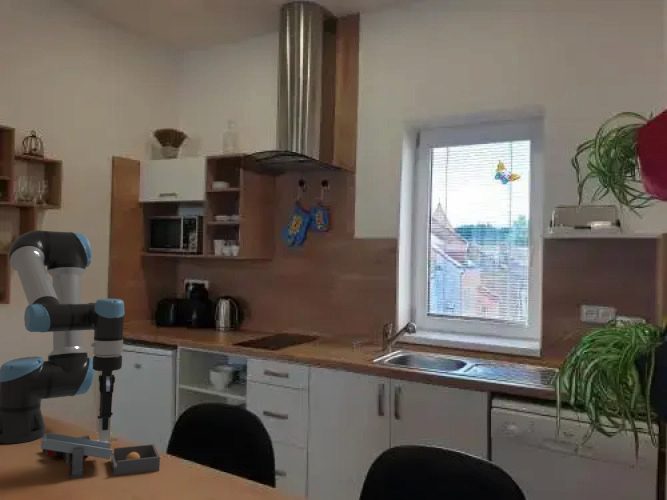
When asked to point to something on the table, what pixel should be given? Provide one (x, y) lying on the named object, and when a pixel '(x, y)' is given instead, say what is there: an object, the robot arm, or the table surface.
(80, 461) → the stand
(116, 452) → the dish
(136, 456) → the ball
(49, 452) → the toy
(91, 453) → the rimmed blue-grey trough
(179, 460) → the table surface
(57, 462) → the table surface
